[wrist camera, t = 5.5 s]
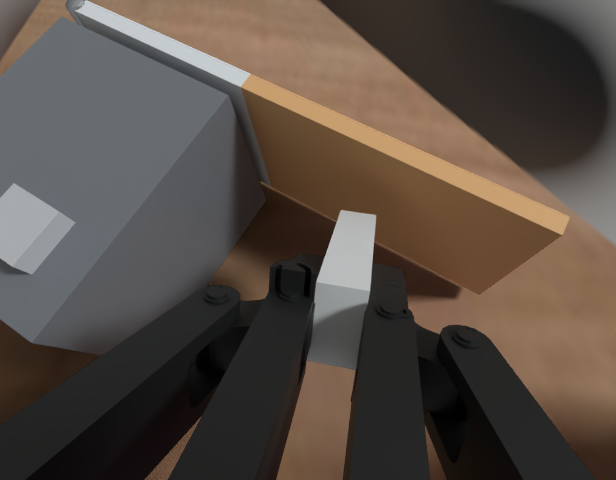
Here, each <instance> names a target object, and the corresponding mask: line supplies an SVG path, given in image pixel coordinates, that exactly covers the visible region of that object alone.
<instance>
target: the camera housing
mask: <svg viewBox="0 0 616 480" xmlns="http://www.w3.org/2000/svg"><path fill="white" fill-rule="evenodd" d="M265 201H266V198H265V195H264V192H263V189H262V187H261V184H260V181H259V178H258V175H257V173H256V170H255V167H254V164H253V161H252V159H251V156H250V153H249V150H248V148H247V145H246V142H245V139H244V136H243V134H242V131H241V128H240V125H239V122H238V120H237V117H236V114H235V111H234V108H233V106H232V103H231V100H230V97H229V95H227V94H225V93H223V92H221V91H219V90H217V89H214V88H212V87H210V86H208V85H206V84H204V83H202V82H200V81H197V80H195V79H193V78H191V77H189V76H187V75H185V74H183V73H180V72H178V71H176V70H174V69H172V68H170V67H168V66H166V65H163V64H161V63H159V62H157V61H155V60H153V59H151V58H148V57H146V56H144V55H142V54H140V53H138V52H136V51H134V50H131V49H129V48H127V47H125V46H123V45H121V44H119V43H117V42H114V41H112V40H110V39H108V38H106V37H104V36H102V35H100V34H97V33H95V32H93V31H91V30H89V29H87V28H85V27H83V26H80V25H78V24H76V23H74V22H72V21H70V20H68V19H66V18H63V17H61V18H60V19H59V20H58V21H57V22H56V23H55V24H54V25H53V26H52V27H51V28H49V29H48V30H47V31H46V32H45V33H44V34H43V35H42V36H41V37H40V38H39V39H38V40H37V41H36V42H35V43H34V44H33V45H32V46H31V47H30V48H29V49H28V50H27V51H26V52H25V53H24V54H23V55H22V56H21V57H20V58H19V59H18V60H17V61H16V62H15V63H14V64H13V65H12V66H11V67H10V68H8V69H7V70H6V71H5V72H4V73H3V74H2V75H1V76H0V320H2V321H3V322H4V323H6V324H7V325H8V326H10V327H11V328H12V329H14V330H15V331H16V332H18V333H19V334H20V335H22V336H23V337H24V338H26V339H27V340H28V341H30V342H31V343H34V344H40V345H45V346H51V347H57V348H62V349H68V350H74V351H79V352H85V353H91V354H96V355H104V354H105V353H107V352H108V351H109V350H111V349H112V348H114V347H115V346H117V345H118V344H120V343H121V342H123V341H124V340H126V339H127V338H129V337H130V336H131V335H133V334H134V333H136V332H137V331H139V330H140V329H142V328H143V327H145V326H146V325H148V324H149V323H151V322H152V321H154V320H155V319H156V318H158V317H159V316H161V315H162V314H164V313H165V312H167V311H168V310H170V309H171V308H173V307H174V306H176V305H177V304H178V303H180V302H181V301H183V300H184V299H186V298H187V297H189V296H190V295H192V294H193V293H195V292H196V291H198V290H200V289H202V288H204V287H206V286H207V285H208V283H209V282H210V281H211V279H212V278H213V276H214V275H215V273H216V272H217V270H218V269H219V268H220V266H221V265H222V263H223V262H224V260H225V259H226V257H227V256H228V255H229V253H230V252H231V250H232V249H233V247H234V246H235V244H236V243H237V242H238V240H239V239H240V237H241V236H242V234H243V233H244V231H245V230H246V229H247V227H248V226H249V224H250V223H251V221H252V220H253V218H254V217H255V216H256V214H257V213H258V211H259V210H260V208H261V207H262V205H263V204H264V203H265Z"/></svg>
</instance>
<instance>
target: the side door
mask: <svg viewBox="0 0 616 480" xmlns="http://www.w3.org/2000/svg"><path fill="white" fill-rule="evenodd" d="M65 6H66V8H67V10H68V11H69V13H70V14H71V15H72V17H73V18H74V20H75V21H76V23H77V24H78V25H80V26H83V27H85V28H87V29H89V30H91V31H93V32H95V33H97V34H100V35H102V36H104V37H106V38H108V39H110V40H112V41H114V42H117V43H119V44H121V45H123V46H125V47H127V48H129V49H131V50H134V51H136V52H138V53H140V54H142V55H144V56H146V57H148V58H151V59H153V60H155V61H157V62H159V63H161V64H163V65H166V66H168V67H170V68H172V69H174V70H176V71H178V72H180V73H183V74H185V75H187V76H189V77H191V78H193V79H195V80H197V81H200V82H202V83H204V84H206V85H208V86H210V87H212V88H214V89H217V90H219V91H221V92H223V93H225V94H227V95H229V97H230V100H231V103H232V106H233V108H234V111H235V114H236V117H237V120H238V122H239V125H240V128H241V131H242V134H243V136H244V139H245V142H246V145H247V148H248V150H249V153H250V156H251V159H252V161H253V164H254V167H255V170H256V173H257V175H258V178H259V181H261V182H263V183H265V184H267V185H269V186H271V187H273V188H275V189H277V190H279V191H280V192H282V193H284V194H286V195H288V196H290V197H292V198H294V199H296V200H298V201H300V202H302V203H304V204H305V205H307V206H309V207H311V208H313V209H315V210H317V211H319V212H321V213H323V214H325V215H327V216H329V217H330V218H332V219H334V220H336V221H337V220H338V217H339V214H340V211H341V210H344V211H351V212H358V213H365V214H372V215H376V225H375V237H374V240H375V241H377V242H379V243H381V244H382V245H384V246H386V247H388V248H390V249H392V250H394V251H396V252H398V253H400V254H402V255H404V256H406V257H407V258H409V259H411V260H413V261H415V262H417V263H419V264H421V265H423V266H425V267H427V268H429V269H431V270H432V271H434V272H436V273H438V274H440V275H442V276H444V277H446V278H448V279H450V280H452V281H454V282H456V283H458V284H459V285H461V286H463V287H465V288H467V289H469V290H471V291H473V292H475V293H477V294H479V295H480V294H481V293H482V292H484V291H485V290H487V289H488V288H489V287H491V286H492V285H494V284H495V283H496V282H498V281H499V280H500V279H502V278H503V277H505V276H506V275H507V274H509V273H510V272H512V271H513V270H514V269H516V268H517V267H519V266H520V265H521V264H523V263H524V262H526V261H527V260H528V259H530V258H531V257H533V256H534V255H535V254H537V253H538V252H539V251H541V250H542V249H544V248H545V247H546V246H548V245H549V244H551V243H552V242H553V241H555V240H556V239H558V238H559V237H560V236H562V235H563V232H564V230H565V228H566V225H567V223H568V221H569V218H570V217H569V216H567V215H565V214H562V213H560V212H558V211H556V210H553V209H551V208H549V207H547V206H544V205H542V204H540V203H538V202H536V201H533V200H531V199H529V198H527V197H524V196H522V195H520V194H518V193H515V192H513V191H511V190H509V189H507V188H504V187H502V186H500V185H498V184H495V183H493V182H491V181H489V180H486V179H484V178H482V177H480V176H478V175H475V174H473V173H471V172H469V171H466V170H464V169H462V168H460V167H457V166H455V165H453V164H451V163H449V162H446V161H444V160H442V159H440V158H437V157H435V156H433V155H431V154H428V153H426V152H424V151H422V150H419V149H417V148H415V147H413V146H411V145H408V144H406V143H404V142H402V141H399V140H397V139H395V138H393V137H390V136H388V135H386V134H384V133H382V132H379V131H377V130H375V129H373V128H370V127H368V126H366V125H364V124H361V123H359V122H357V121H355V120H353V119H350V118H348V117H346V116H344V115H341V114H339V113H337V112H335V111H332V110H330V109H328V108H326V107H324V106H321V105H319V104H317V103H315V102H312V101H310V100H308V99H306V98H303V97H301V96H299V95H297V94H294V93H292V92H290V91H288V90H286V89H283V88H281V87H279V86H277V85H274V84H272V83H270V82H268V81H265V80H263V79H261V78H259V77H257V76H254V75H252V74H250V73H248V72H245V71H243V70H241V69H239V68H236V67H234V66H232V65H230V64H228V63H225V62H223V61H221V60H219V59H216V58H214V57H212V56H210V55H207V54H205V53H203V52H201V51H199V50H196V49H194V48H192V47H190V46H187V45H185V44H183V43H181V42H178V41H176V40H174V39H172V38H170V37H167V36H165V35H163V34H161V33H158V32H156V31H154V30H152V29H149V28H147V27H145V26H143V25H140V24H138V23H136V22H134V21H132V20H129V19H127V18H125V17H123V16H120V15H118V14H116V13H114V12H111V11H109V10H107V9H105V8H103V7H100V6H98V5H96V4H94V3H91V2H89V1H87V0H68V1H67V2H66V5H65Z"/></svg>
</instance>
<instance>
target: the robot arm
mask: <svg viewBox="0 0 616 480" xmlns="http://www.w3.org/2000/svg"><path fill="white" fill-rule="evenodd" d="M375 225H376V215H372V214H365V213H358V212H351V211H344V210H341V211H340V214H339V217H338V220H337V223H336V226H335V229H334V232H333V235H332V238H331V240H330V243H329V246H328V249H327V252H326V255H325V257H323V256H317V255H310V254H304V253H301V254H300V255H298V256H296V257H294V258H293V260H284V261H279V262H276V263H274V264H273V265H272V266H271V267H270V280H269V292H268V294H267V296H266V298H265V299H262V300H255V301H240V294H239V292H238V291H237V290H235V289H233V288H231V287H228V286H223V285H212V286H208V287H204V288H202V289H200V290H198V291H196V292H195V293H193V294H192V295H190V296H189V297H187V298H186V299H184V300H183V301H181V302H180V303H178V304H177V305H176V306H174V307H173V308H171V309H170V310H168V311H167V312H165V313H164V314H162V315H161V316H159V317H158V318H156V319H155V320H154V321H152V322H151V323H149V324H148V325H146V326H145V327H143V328H142V329H140V330H139V331H137V332H136V333H134V334H133V335H131V336H130V337H129V338H127V339H126V340H124V341H123V342H121V343H120V344H118V345H117V346H115V347H114V348H112V349H111V350H109V351H108V352H107V353H105V354H104V355H102V356H101V357H99V358H98V359H96V360H95V361H93V362H92V363H90V364H89V365H87V366H86V367H84V368H83V369H82V370H80V371H79V372H77V373H76V374H74V375H73V376H71V377H70V378H68V379H67V380H65V381H64V382H62V383H61V384H60V385H58V386H57V387H55V388H54V389H52V390H51V391H49V392H48V393H46V394H45V395H43V396H42V397H40V398H39V399H38V400H36V401H35V402H33V403H32V404H30V405H29V406H27V407H26V408H24V409H23V410H21V411H20V412H18V413H17V414H15V415H14V416H13V417H11V418H10V419H8V420H7V421H5V422H4V423H2V424H1V425H0V480H144V479H145V478H146V477H147V476H148V475H149V474H150V473H151V472H152V470H153V469H154V468H155V467H156V466H157V465H158V464H159V463H160V462H161V460H162V459H163V458H164V457H165V456H166V455H167V454H168V453H169V452H170V450H171V449H172V448H173V447H174V446H175V445H176V444H177V443H178V442H179V440H180V439H181V438H182V437H183V436H184V435H185V434H186V433H187V432H188V431H189V429H190V428H191V427H192V426H193V425H194V424H195V423H196V422H197V421H198V419H199V418H200V417H201V416H202V417H201V419H200V421H199V423H198V424H197V426H196V428H195V430H194V432H193V434H192V436H191V438H190V439H189V441H188V443H187V445H186V447H185V449H184V451H183V452H182V454H181V456H180V458H179V460H178V462H177V464H176V465H175V467H174V469H173V471H172V473H171V475H170V477H169V478H168V480H276V477H277V474H278V470H279V466H280V463H281V459H282V455H283V452H284V448H285V444H286V441H287V437H288V433H289V430H290V426H291V422H292V419H293V415H294V411H295V408H296V404H297V400H298V397H299V393H300V389H301V386H302V382H303V378H304V375H305V370H306V360H307V356H308V361H312V362H317V363H322V364H328V365H333V366H338V367H343V368H348V369H354V370H356V373H355V379H354V385H353V391H352V396H351V402H352V404H351V412H350V421H349V430H348V439H347V447H346V456H345V465H344V474H343V480H430V475H429V465H428V455H427V445H426V435H425V425H426V428H427V430H428V433H429V435H430V438H431V440H432V443H433V445H434V448H435V450H436V453H437V455H438V458H439V460H440V463H441V465H442V468H443V471H444V473H445V476H446V478H447V480H595V479H594V477H593V476H592V475H591V473H590V472H589V471H588V469H587V468H586V467H585V465H584V464H583V463H582V461H581V460H580V459H579V457H578V456H577V455H576V453H575V452H574V451H573V449H572V448H571V447H570V445H569V444H568V443H567V441H566V440H565V439H564V437H563V436H562V435H561V433H560V432H559V431H558V429H557V428H556V427H555V425H554V424H553V423H552V421H551V420H550V419H549V417H548V416H547V415H546V413H545V412H544V411H543V409H542V408H541V407H540V405H539V404H538V403H537V401H536V400H535V399H534V397H533V396H532V395H531V393H530V392H529V391H528V389H527V388H526V387H525V385H524V384H523V383H522V381H521V380H520V379H519V377H518V376H517V375H516V373H515V372H514V371H513V369H512V368H511V367H510V365H509V364H508V363H507V361H506V360H505V359H504V357H503V356H502V355H501V353H500V352H499V351H498V349H497V348H496V347H495V345H494V344H493V343H492V341H491V340H490V339H489V338H488V337H487V336H486V335H484V334H483V333H481V332H479V331H477V330H476V329H474V328H470V327H468V326H461V325H449V326H447V327H445V328H443V329H442V331H441V333H440V334H437V333H434V332H432V331H429V330H427V329H425V328H423V327H421V326H419V325H418V324H416V323H415V322H414V316H413V314H412V311H410V310H409V309H408V301H407V290H406V277H405V274H404V273H403V272H402V271H401V269H400V268H399V267H393V266H386V265H380V264H374V263H372V261H373V249H374V237H375ZM424 422H425V425H424Z"/></svg>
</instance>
